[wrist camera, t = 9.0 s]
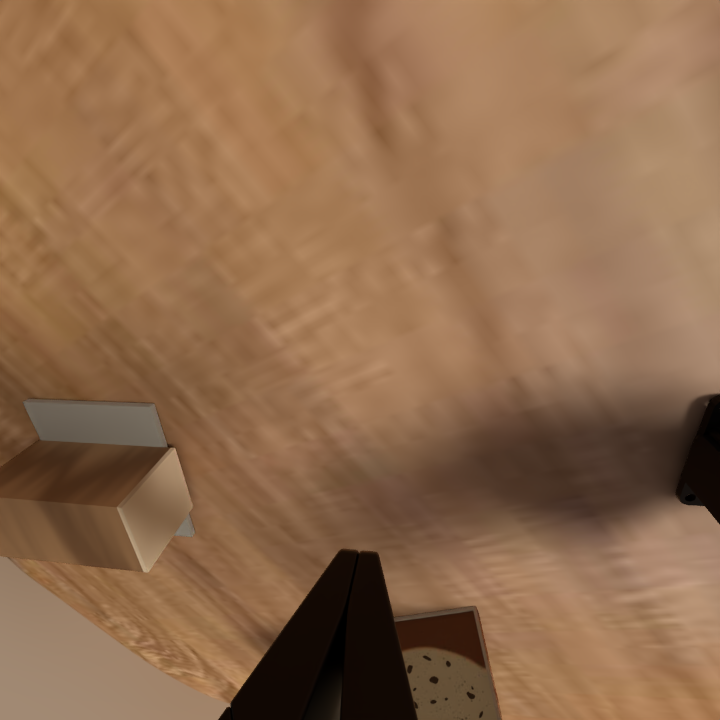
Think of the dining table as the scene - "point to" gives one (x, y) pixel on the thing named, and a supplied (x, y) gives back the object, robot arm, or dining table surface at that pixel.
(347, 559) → the robot arm
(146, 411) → the mat
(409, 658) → the food container
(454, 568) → the dining table surface
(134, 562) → the walnut block
